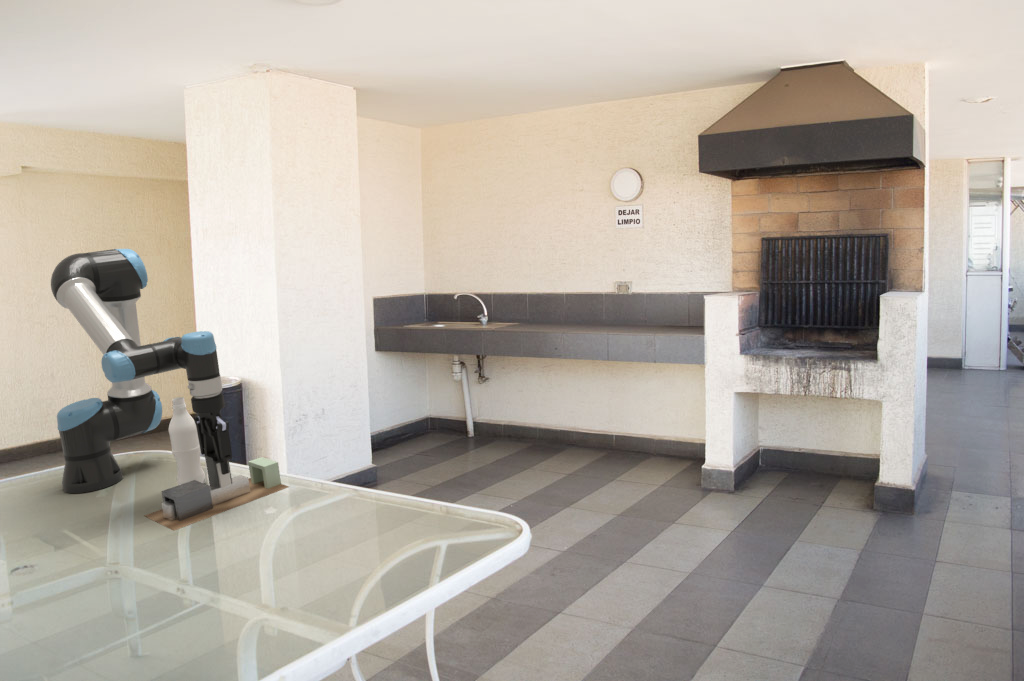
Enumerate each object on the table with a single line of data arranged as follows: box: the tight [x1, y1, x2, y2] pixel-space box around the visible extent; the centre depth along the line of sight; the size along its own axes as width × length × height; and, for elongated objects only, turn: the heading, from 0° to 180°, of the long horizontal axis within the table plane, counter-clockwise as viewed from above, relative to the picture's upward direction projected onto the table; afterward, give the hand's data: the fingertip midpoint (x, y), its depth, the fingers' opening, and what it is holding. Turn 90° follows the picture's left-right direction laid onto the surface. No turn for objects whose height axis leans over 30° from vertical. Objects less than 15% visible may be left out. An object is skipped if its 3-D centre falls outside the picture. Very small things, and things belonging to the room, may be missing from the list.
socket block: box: [247, 456, 282, 489], centre depth 212 cm, size 8×4×6 cm, turn 48°
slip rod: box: [161, 452, 250, 521], centre depth 200 cm, size 4×21×12 cm, turn 138°
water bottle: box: [168, 396, 206, 486], centre depth 214 cm, size 7×7×25 cm
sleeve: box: [161, 480, 213, 521], centre depth 196 cm, size 8×8×6 cm
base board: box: [143, 477, 290, 531], centre depth 203 cm, size 16×31×1 cm, turn 138°
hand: (220, 483), depth 203 cm, fingers closed on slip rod, 4 cm apart
